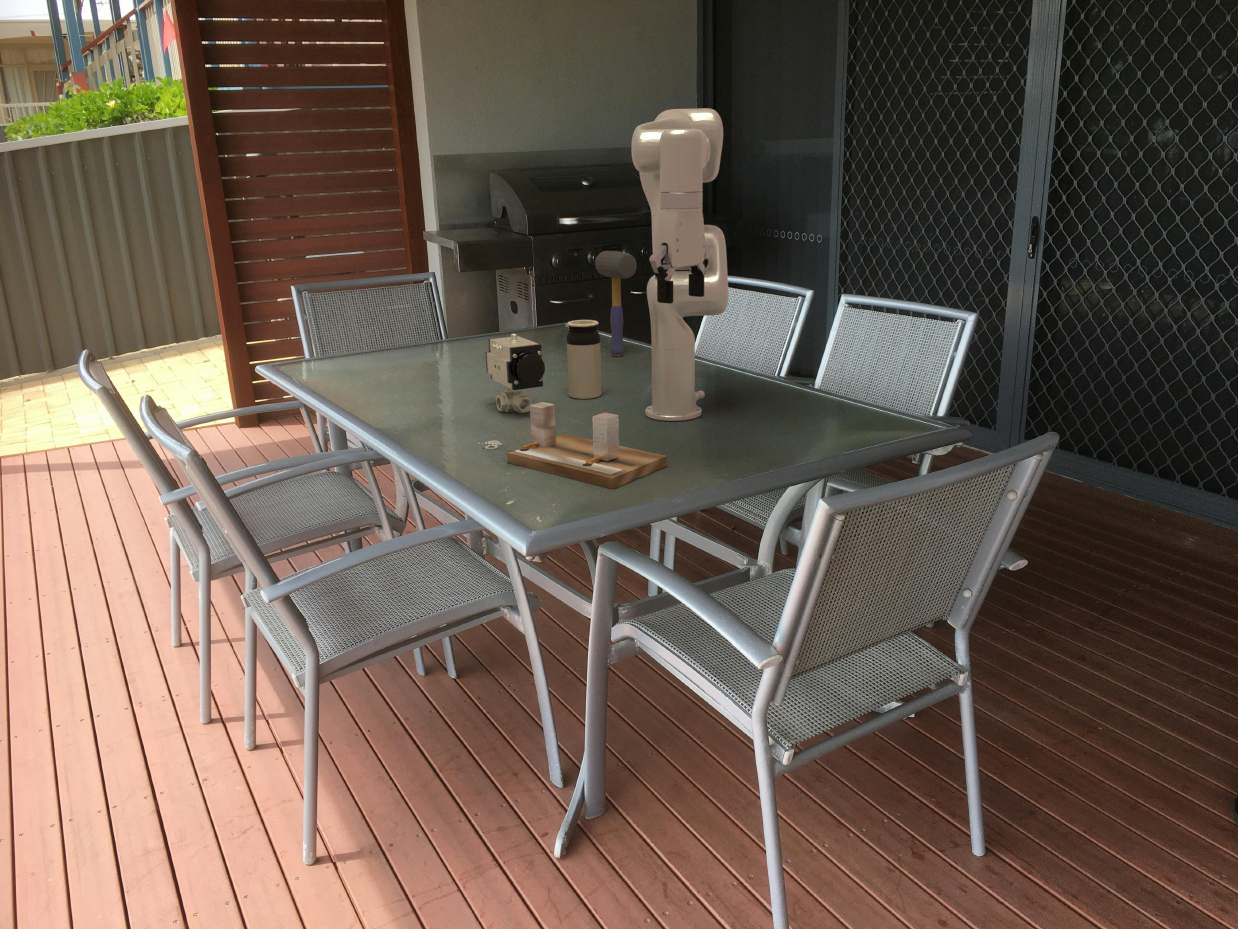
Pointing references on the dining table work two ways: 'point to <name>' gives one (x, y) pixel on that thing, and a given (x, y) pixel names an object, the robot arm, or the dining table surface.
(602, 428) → the sliding block with pointer
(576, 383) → the travel mug
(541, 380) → the ball valve
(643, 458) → the rule board
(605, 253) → the rubber mallet
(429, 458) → the dining table surface
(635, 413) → the dining table surface
